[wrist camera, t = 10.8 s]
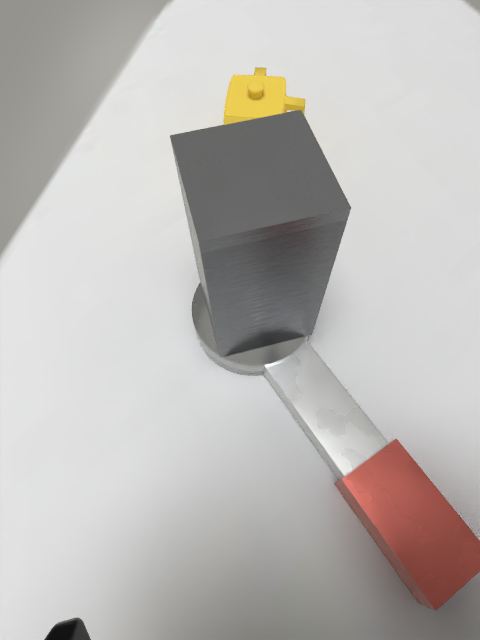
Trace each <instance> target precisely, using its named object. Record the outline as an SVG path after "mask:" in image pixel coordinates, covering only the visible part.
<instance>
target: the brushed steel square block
mask: <svg viewBox="0 0 480 640" xmlns="http://www.w3.org/2000/svg"><path fill="white" fill-rule="evenodd" d="M170 138H171V143H172V148H173V153H174V157H175V162H176V167H177V172H178V177H179V182H180V186H181V191H182V196H183V201H184V206H185V211H186V215H187V220H188V225H189V230H190V235H191V240H192V244H193V249H194V254H195V259H196V264H197V268H198V273H199V278H200V282H201V286H202V290H203V294H204V298H205V302H206V306H207V310H208V313H209V317H210V321H211V325H212V329H213V333H214V337H215V341H216V345H217V348H218V352H219V356H220V358H222V357H226V356H230V355H234V354H238V353H242V352H246V351H250V350H254V349H257V348H261V347H265V346H269V345H273V344H277V343H281V342H285V341H289V340H293V339H297V338H301V337H305V336H309V335H312V332H313V329H314V326H315V323H316V319H317V316H318V313H319V310H320V306H321V303H322V300H323V297H324V294H325V290H326V287H327V284H328V281H329V277H330V274H331V271H332V268H333V264H334V261H335V258H336V255H337V252H338V248H339V245H340V242H341V239H342V235H343V232H344V229H345V226H346V222H347V219H348V216H349V213H350V210H351V207H350V205H349V203H348V201H347V199H346V197H345V195H344V193H343V191H342V189H341V187H340V185H339V183H338V181H337V179H336V177H335V175H334V173H333V171H332V169H331V167H330V166H329V164H328V162H327V160H326V158H325V156H324V154H323V152H322V150H321V148H320V146H319V144H318V142H317V140H316V138H315V136H314V134H313V132H312V130H311V128H310V126H309V124H308V122H307V120H306V118H305V116H304V114H303V112H302V110H297V111H292V112H287V113H282V114H277V115H272V116H267V117H261V118H256V119H251V120H246V121H241V122H236V123H231V124H226V125H221V126H216V127H211V128H206V129H201V130H196V131H191V132H185V133H180V134H175V135H170Z"/></svg>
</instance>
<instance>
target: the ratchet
mask: <svg viewBox="0 0 480 640" xmlns="http://www.w3.org/2000/svg"><path fill="white" fill-rule="evenodd" d="M192 317H193V322H194V326H195V329H196V333H197V336H198V339H199V342H200V344H201V346H202V348H203V350H204V351H205V353H206V354H207V355H208V356H209V357H210V358H211V359H212V360H213V361H214V362H215V363H216V364H218V365H219V366H221V367H222V368H224V369H226V370H228V371H231V372H233V373H237V374H241V375H252V376H257V375H264V376H265V378H266V379H267V380H268V382H269V383H270V385H271V386H272V387H273V389H274V390H275V392H276V393H277V394H278V396H279V397H280V399H281V400H282V401H283V403H284V404H285V406H286V407H287V408H288V410H289V411H290V413H291V414H292V415H293V417H294V418H295V420H296V421H297V422H298V424H299V425H300V427H301V428H302V429H303V431H304V432H305V434H306V435H307V436H308V438H309V439H310V441H311V442H312V443H313V445H314V446H315V448H316V449H317V450H318V452H319V453H320V455H321V456H322V457H323V459H324V460H325V462H326V463H327V464H328V466H329V467H330V469H331V470H332V471H333V473H334V474H335V476H336V477H337V478H338V481H337V482H336V483H334V484H335V485H336V487H337V488H338V490H339V491H340V493H341V494H342V495H343V497H344V498H345V500H346V501H347V502H348V504H349V505H350V507H351V508H352V509H353V511H354V512H355V514H356V515H357V517H358V518H359V519H360V521H361V522H362V524H363V525H364V526H365V528H366V529H367V531H368V532H369V534H370V535H371V536H372V538H373V539H374V541H375V542H376V543H377V545H378V546H379V548H380V549H381V551H382V552H383V553H384V555H385V556H386V558H387V559H388V560H389V562H390V563H391V565H392V566H393V568H394V569H395V570H396V572H397V573H398V575H399V576H400V577H401V579H402V580H403V582H404V583H405V584H406V586H407V587H408V589H409V590H410V592H411V593H412V594H413V596H414V597H415V599H416V600H417V601H418V603H420V604H422V605H425V606H427V607H429V608H431V609H434V610H437V609H438V608H439V607H440V606H441V605H443V604H444V603H445V602H446V601H447V600H448V599H449V598H450V597H451V596H453V595H454V594H455V593H456V592H457V591H458V590H459V589H460V588H461V587H463V586H464V585H465V584H466V583H467V582H468V581H469V580H470V579H471V578H473V577H474V576H475V575H476V574H477V573H478V572H479V571H480V541H479V540H478V538H477V537H476V536H475V535H474V533H473V532H472V531H471V530H470V529H469V527H468V526H467V525H466V524H465V522H464V521H463V520H462V519H461V517H460V516H459V515H458V514H457V513H456V511H455V510H454V509H453V508H452V506H451V505H450V504H449V503H448V501H447V500H446V499H445V498H444V497H443V495H442V494H441V493H440V492H439V490H438V489H437V488H436V487H435V485H434V484H433V483H432V482H431V481H430V479H429V478H428V477H427V476H426V474H425V473H424V472H423V471H422V469H421V468H420V467H419V466H418V465H417V463H416V462H415V461H414V460H413V458H412V457H411V456H410V455H409V453H408V452H407V451H406V450H405V449H404V447H403V446H402V445H401V444H400V442H399V441H398V440H397V439H395V440H393V441H392V442H390V443H388V441H387V440H386V439H385V438H384V436H383V435H382V434H381V433H380V431H379V430H378V429H377V428H376V426H375V425H374V424H373V423H372V421H371V420H370V419H369V418H368V416H367V415H366V414H365V413H364V411H363V410H362V409H361V408H360V406H359V405H358V404H357V403H356V401H355V400H354V399H353V398H352V396H351V395H350V394H349V393H348V391H347V390H346V389H345V388H344V386H343V385H342V384H341V383H340V381H339V380H338V379H337V378H336V376H335V375H334V374H333V373H332V371H331V370H330V369H329V368H328V366H327V365H326V364H325V363H324V361H323V360H322V359H321V358H320V356H319V355H318V354H317V353H316V351H315V350H314V349H313V348H312V346H311V345H310V344H309V343H308V341H307V339H308V336H305V337H301V338H297V339H293V340H289V341H285V342H281V343H277V344H273V345H269V346H265V347H261V348H257V349H254V350H250V351H246V352H242V353H238V354H234V355H230V356H226V357H222V358H220V356H219V352H218V348H217V345H216V341H215V337H214V333H213V329H212V325H211V321H210V317H209V313H208V310H207V306H206V302H205V298H204V294H203V290H202V286H201V282H200V284H199V286H198V287H197V289H196V292H195V294H194V298H193V302H192Z"/></svg>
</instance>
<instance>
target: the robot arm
mask: <svg viewBox="0 0 480 640" xmlns="http://www.w3.org/2000/svg"><path fill="white" fill-rule="evenodd" d="M44 640H91V639H90V637H89V634H88V632H87V630H86V627H85V625H84V623H83V621H82V620H81V619H80V618H73V619H69V620H66V621H62V622H59V623H57V624H56V625H55V626H54V627H53V628H52V629H51V631H50V632H49V634H48V635H47V637H46V638H45V639H44Z"/></svg>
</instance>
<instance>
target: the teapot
mask: <svg viewBox="0 0 480 640" xmlns="http://www.w3.org/2000/svg"><path fill="white" fill-rule="evenodd" d="M286 110H296V111H297V110H302V112H303V114H304V111H305V99H301V98H295V97H288V96H286V80H285V78H284V77H275V76H266V68H257V67H255V72H254V75H233V76H232V78H231V81H230V84H229V88H228V92H227V97H226V103H225V110H224V125H226V124H231V123H236V122H241V121H246V120H251V119H256V118H261V117H267V116H272V115H277V114H282V113H286Z"/></svg>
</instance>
